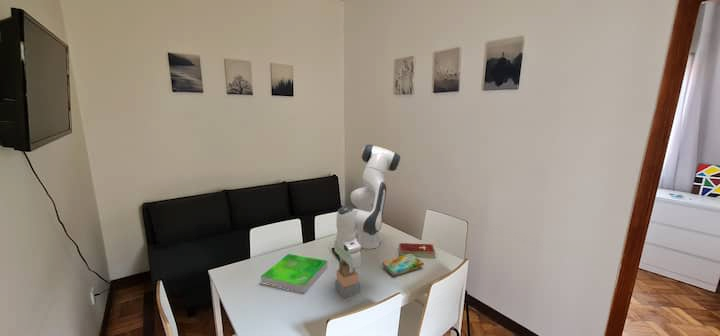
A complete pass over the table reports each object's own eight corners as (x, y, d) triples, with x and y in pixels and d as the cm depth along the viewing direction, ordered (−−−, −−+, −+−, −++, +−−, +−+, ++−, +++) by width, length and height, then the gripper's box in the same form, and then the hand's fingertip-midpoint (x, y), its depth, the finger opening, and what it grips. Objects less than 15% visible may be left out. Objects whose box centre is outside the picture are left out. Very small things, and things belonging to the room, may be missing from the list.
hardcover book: (398, 248, 188) (399, 242, 187) (432, 249, 186) (432, 243, 185) (399, 257, 176) (399, 251, 175) (435, 259, 174) (435, 252, 173)
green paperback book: (261, 285, 149) (260, 276, 148) (288, 261, 172) (288, 253, 171) (305, 294, 141) (304, 285, 140) (327, 268, 164) (327, 260, 163)
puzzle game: (381, 260, 163) (410, 252, 172) (381, 268, 164) (410, 259, 173) (393, 270, 153) (423, 261, 162) (393, 278, 154) (423, 269, 163)
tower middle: (336, 279, 144) (336, 270, 143) (351, 275, 148) (351, 266, 147) (343, 287, 137) (343, 278, 136) (358, 283, 141) (358, 273, 140)
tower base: (335, 289, 145) (335, 279, 144) (351, 283, 150) (351, 274, 149) (343, 298, 137) (343, 289, 136) (360, 292, 142) (360, 283, 141)
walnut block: (339, 271, 142) (339, 261, 141) (349, 268, 145) (349, 259, 144) (344, 276, 138) (344, 267, 137) (354, 273, 140) (354, 263, 139)
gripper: (330, 234, 145) (331, 260, 148) (350, 251, 128) (351, 280, 131) (342, 232, 148) (342, 257, 151) (362, 247, 131) (363, 276, 134)
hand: (346, 268), depth 141 cm, fingers open, 6 cm apart
